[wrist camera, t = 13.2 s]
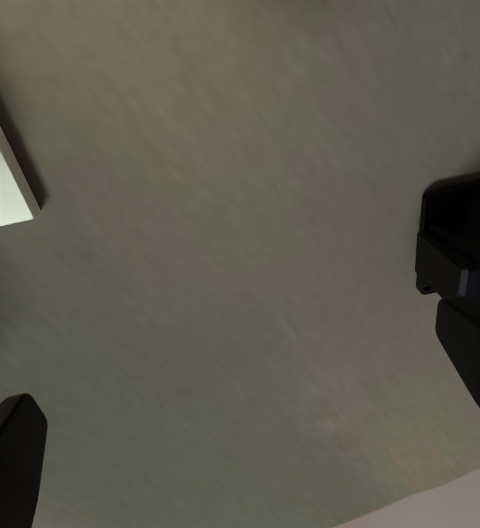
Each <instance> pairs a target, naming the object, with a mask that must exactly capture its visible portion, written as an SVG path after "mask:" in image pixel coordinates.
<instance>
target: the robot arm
mask: <svg viewBox="0 0 480 528" xmlns="http://www.w3.org/2000/svg"><path fill="white" fill-rule="evenodd" d="M434 197H436V198H435V201H434V202H432V203H430V202H431V200H432V199H433V198H434ZM415 271H416V272H417V280H416V288H417V289H418V290H419V291H420V293H421V294H424V295H425V294H431V293H436V292H437V293H438V294H439V295H440V296H441V297H442V299H440V300H439V302H438V306H437V316H436V325H435V329H436V334H437V337H438V339H439V341H440V342H441V344H442V346H443V348H444V349H445V351H446V353H447V355H448V356H449V358H450V360H451V361H452V363H453V365H454V367H455V368H456V370H457V372H458V374H459V375H460V377H461V379H462V381H463V382H464V384H465V386H466V387H467V389H468V391H469V392H470V394H471V396H472V397H473V399H474V400H475V402H476V403H477V405H478V406H479V408H480V179H479V180H474V181H470V182H465V183H460V184H456V185H451V186H447V187H442V188H438V189H433V190H430V191H428V192H427V193H425V194H424V196H423V198H422V205H421V220H420V231H419V232H418V234H417V247H416V263H415ZM427 284H428V285H427ZM425 285H427V286H426V287H424V286H425ZM47 427H48V426H47V419H46V417H45V415H44V413H43V412H42V411H41V409H40V408H39V406H38V405H37V403H36V402H35V400H34V399H33V397H32V396H31V395H30V394H28V393H23V394H19V395H14V396H10V397H8V398H6V399H5V400H4V401H3V402H2V403H0V528H31V527H32V523H33V519H34V515H35V510H36V506H37V501H38V495H39V489H40V481H41V474H42V466H43V459H44V451H45V443H46V436H47Z"/></svg>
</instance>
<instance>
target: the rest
mask: <svg viewBox="0 0 480 528" xmlns="http://www.w3.org/2000/svg"><path fill="white" fill-rule="evenodd" d="M40 211H41V210H40V208H39V206H38V204H37V202H36V199H35V197H34V195H33V193H32V191H31V189H30V187H29V185H28V183H27V181H26V179H25V177H24V174H23V172H22V170H21V168H20V166H19V164H18V162H17V160H16V158H15V156H14V154H13V151H12V149H11V147H10V145H9V143H8V141H7V139H6V137H5V135H4V133H3V131H2V129H1V126H0V226H3V225H7V224H12V223H17V222H21V221H26V220H30V219H34V218H35V217H36V216H37V214H38V213H39V212H40Z"/></svg>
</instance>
